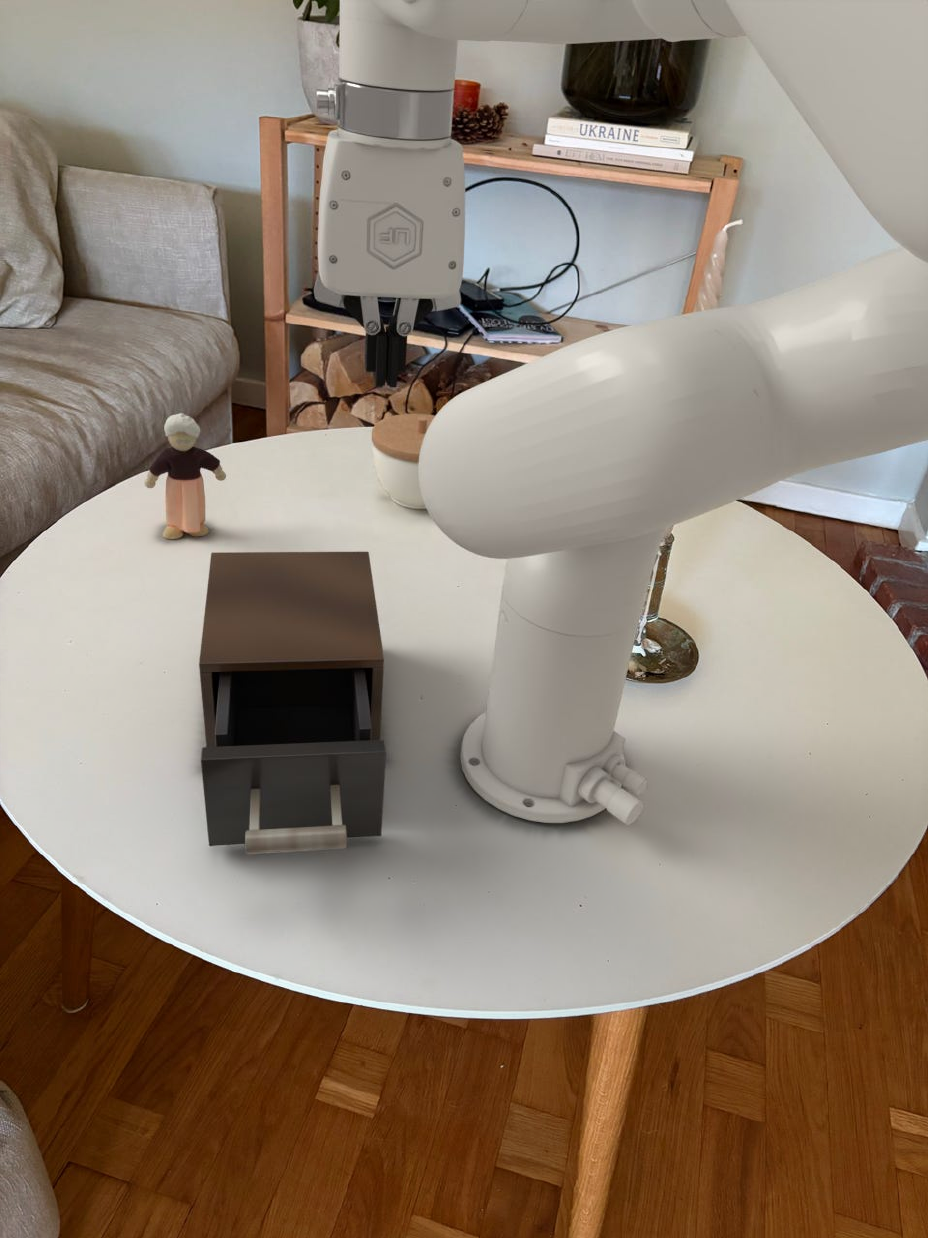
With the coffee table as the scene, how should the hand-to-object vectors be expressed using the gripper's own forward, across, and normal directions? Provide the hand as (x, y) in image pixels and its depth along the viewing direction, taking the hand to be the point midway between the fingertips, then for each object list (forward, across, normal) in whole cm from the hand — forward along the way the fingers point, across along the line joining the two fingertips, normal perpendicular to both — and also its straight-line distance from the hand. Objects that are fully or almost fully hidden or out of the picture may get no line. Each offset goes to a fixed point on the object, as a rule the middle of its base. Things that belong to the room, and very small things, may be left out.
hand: (384, 380), depth 74 cm
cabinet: (+23, -7, -10) cm, 26 cm away
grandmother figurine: (+23, -17, +17) cm, 34 cm away
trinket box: (+23, +7, +25) cm, 35 cm away
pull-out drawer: (+22, -7, -22) cm, 32 cm away
